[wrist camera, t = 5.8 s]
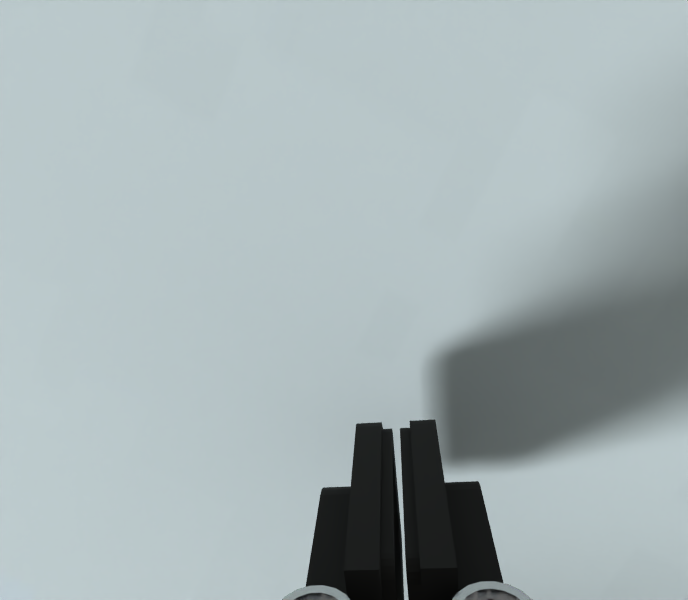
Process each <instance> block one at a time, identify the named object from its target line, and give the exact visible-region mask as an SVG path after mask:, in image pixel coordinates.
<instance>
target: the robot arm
mask: <svg viewBox="0 0 688 600" xmlns="http://www.w3.org/2000/svg"><path fill="white" fill-rule="evenodd" d="M400 438H401V461H402V485H403V508H404V532H405V555H406V572H407V585H408V597H409V600H532V599H531V598H530V597H529V596H527V595H526V594H525V593H524V592H523V591H521V590H519V589H517V588H515V587H513V586H511V585H509V584H504V583H503V580H502V575H501V571H500V567H499V563H498V559H497V554H496V550H495V546H494V542H493V538H492V533H491V529H490V525H489V521H488V517H487V512H486V508H485V504H484V500H483V496H482V491H481V487H480V484H479V482H478V481H476V482H451V483H445V482H444V476H443V469H442V462H441V456H440V449H439V442H438V435H437V429H436V422H435V420H419V421H410V428H400ZM282 600H404V588H403V560H402V538H401V524H400V513H399V501H398V490H397V478H396V467H395V455H394V443H393V432H392V429H383V427H382V422H381V423H361V424H356V433H355V445H354V456H353V468H352V479H351V487H329V488H323V489H322V491H321V495H320V501H319V507H318V514H317V520H316V526H315V532H314V539H313V545H312V551H311V557H310V564H309V570H308V576H307V582H306V587H304V588H300V589H297V590H295V591H294V592H292V593H290V594H288V595H287V596H285V597H284V598H283V599H282Z"/></svg>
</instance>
